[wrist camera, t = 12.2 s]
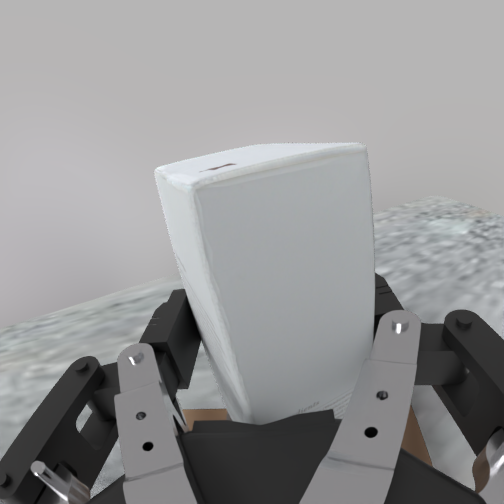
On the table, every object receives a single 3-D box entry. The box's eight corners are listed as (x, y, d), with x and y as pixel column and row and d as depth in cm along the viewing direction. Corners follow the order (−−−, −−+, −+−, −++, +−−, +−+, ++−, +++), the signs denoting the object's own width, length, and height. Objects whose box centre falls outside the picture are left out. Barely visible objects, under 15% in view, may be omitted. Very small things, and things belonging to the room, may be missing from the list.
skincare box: (365, 450, 11) (376, 140, 6) (276, 499, 9) (178, 183, 5) (296, 375, 16) (259, 141, 11) (224, 407, 15) (147, 168, 10)
